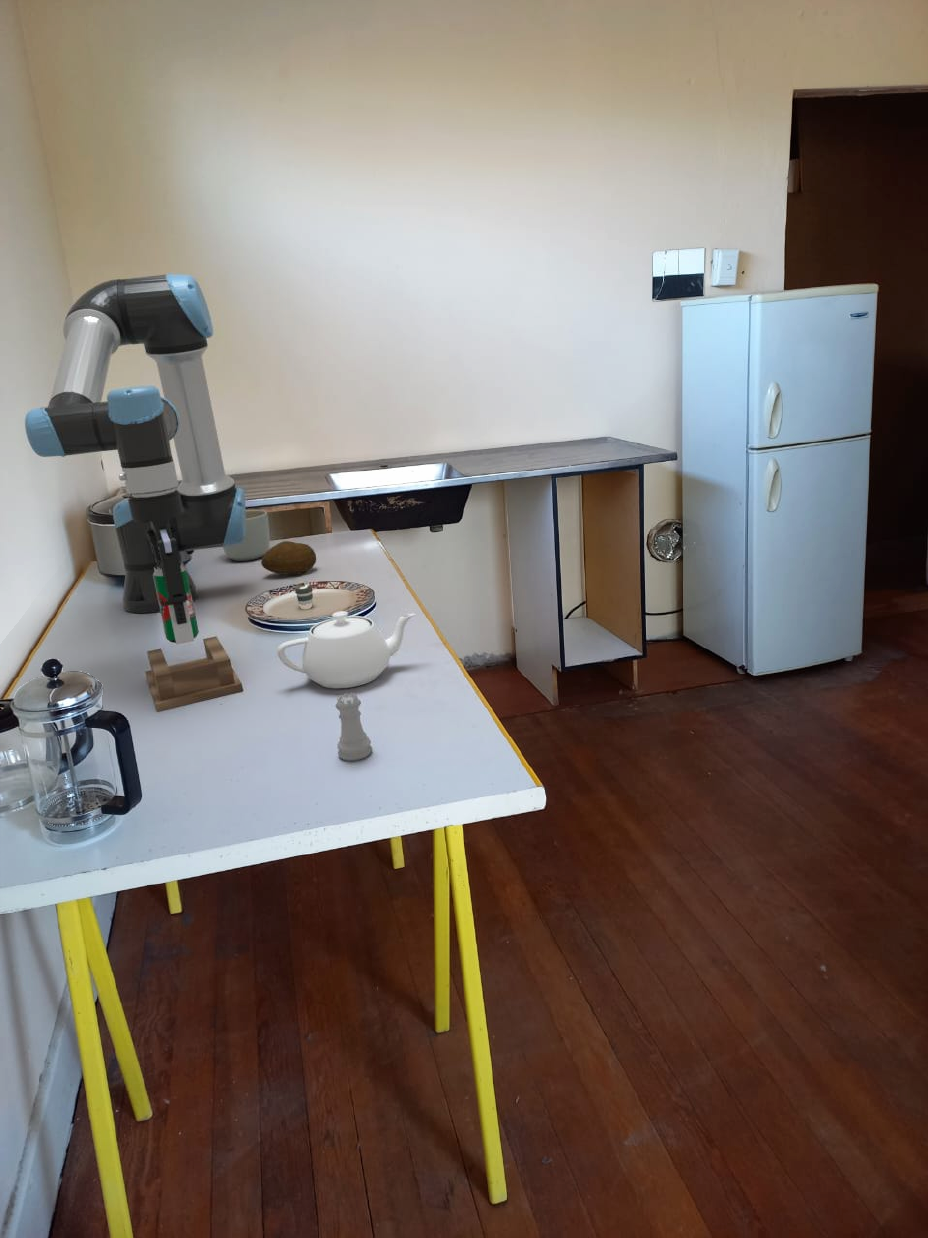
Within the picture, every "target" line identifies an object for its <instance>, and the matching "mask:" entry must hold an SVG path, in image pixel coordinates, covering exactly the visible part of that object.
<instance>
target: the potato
mask: <svg viewBox="0 0 928 1238" xmlns="http://www.w3.org/2000/svg"><path fill="white" fill-rule="evenodd" d="M316 563H317V555H316V552H315V550H314V549H313V548H312V547H311V546H310V545H309V544H306V543H300V542H294V541H291V540H290V541H288V540H286V541H285V540H283V541H281V542H279V543H276V544H275V545H273V546H272V547H271V548H269V549H268V551H267V553H266V554H265V555H264V556H262V557H261V562H260V564H261V566H262V567H263V568H264V569H265V570H267V571H269V572H271V573H274V574H281V575H290V576H291V575H293V576H294V575H301V574H304V573H306V572H308V571H310V570H311V569H312V568H313V567H314V566H315V564H316Z"/></svg>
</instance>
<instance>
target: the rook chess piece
mask: <svg viewBox="0 0 928 1238" xmlns="http://www.w3.org/2000/svg"><path fill="white" fill-rule="evenodd" d="M349 695H350V696H349ZM343 696H344V697H343ZM337 697H338V698H336V699H337V702H336V704H335V708H336V709H337V710H338V711H339V715H338V718H339V719H340V722H341V724H340V726H341V731H340V732H341V733H340V736H339V741H338V742H337V744H336V745H337V746H336V747H337V749H338V751H337V754H338V757H340V759H342V760H344V761H349V762H356V761H361V760H363V759H365V758H367V757H368V756H370V754H371V752H372V750H373V747H372V745H371V744H372V742H371V740H370V737H369V736H367V733H366V732H365V731H364V728H363V724H362V722H361V715H362V713H361V712H360V709H359V708H360V706H361V705H362V702H361V700H360V699H359V698H358V695H357V694H355V693H353V692H351V693H350V694H349V693H343V695H341V694H340V695H339V696H337Z"/></svg>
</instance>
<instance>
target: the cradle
mask: <svg viewBox="0 0 928 1238" xmlns="http://www.w3.org/2000/svg"><path fill="white" fill-rule="evenodd" d="M202 640H203V646H204V651H205V657H204V658H200V659H195V660H191V661H187V662H185V661H184V662H181V663H177V664H172V665H168V663H167V661H166V658H165V655H164V653H163V650H162V648H156V649H151V650H148V651H146V653H147V658H148V662H149V666H150V667H149V668H150V670H146V671H144V672H145V676H146V680H147V684H148V686H149V691H150V694H151V697H152V700H153V703H154V706H155V709H156V712H162V711H165V710H169V709H174V708H178V707H179V708H180V707H182V706H187V705H191V704H194V703H198V702H203V701H207V700H211V699H215V698H219V697H223V696H224V697H225V696H227V695H228V696H229V695H231V694H237V693H240V692H244V687H243V683H242V681H241V680H240V678H239V676H238V675H237V673H236V672H235V669H234V668H233V666H232V665H233V664H232V660H231V658H230V656H229V654H228V653H227V651H226V649H225V648H224V647H223V645H222V643H221V642H220V640H219V638H218V637H217V636H211V637H207V638H203V639H202Z"/></svg>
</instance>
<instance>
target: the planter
mask: <svg viewBox="0 0 928 1238" xmlns="http://www.w3.org/2000/svg"><path fill="white" fill-rule="evenodd" d="M270 539H271V538H270V525H269V517H268V513H267V511H266V510H264V509H246V531H245V538H244V540H243V541H242V542H241V543H239V544H235V545H229V546H225V547H222V549H223V551H224V554H225V555H226V556H227V557H228V558H229V559H231V560H234V561H236V562H249V561H253V560H254V561H255V560H257V559H260V558H263V556H264V555H265V554H266V553H267V552H268V551H269V550H270V544H271V541H270Z"/></svg>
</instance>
